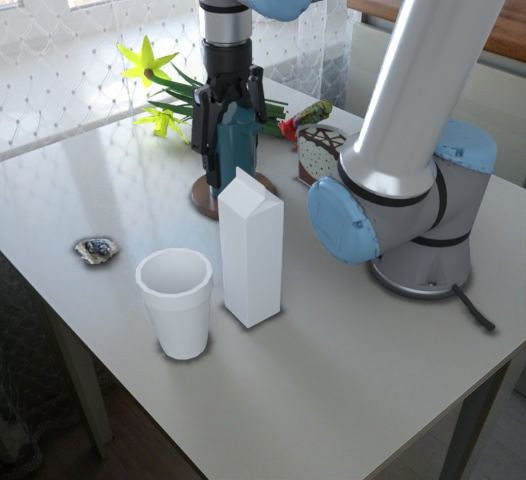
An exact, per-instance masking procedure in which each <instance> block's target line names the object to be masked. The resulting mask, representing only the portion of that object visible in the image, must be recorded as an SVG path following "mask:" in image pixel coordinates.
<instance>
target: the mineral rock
mask: <svg viewBox="0 0 526 480" xmlns="http://www.w3.org/2000/svg"><path fill="white" fill-rule="evenodd" d="M75 250H76V251H77V253H79V254H80V255H81V259H83V260H84V261H85V262H84V263H86V264H87V265H91V266H92V265H100V264H101V263H105V262H107V261H109V258H112V257H113V254H118V253H119V252H120V250H119V249H118V245H116V243H114V242H113V241H112V240H110V239H108V238H99V237H98V238H96V239H94V238H93V239H83V240H82V241H80V242H78V243H77V244H76V245H75Z"/></svg>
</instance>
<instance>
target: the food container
mask: <svg viewBox="0 0 526 480" xmlns="http://www.w3.org/2000/svg"><path fill="white" fill-rule="evenodd" d="M297 136H298V140H297V144H298V150H297V180H298V181H300V182H302V183H303V184H305V185H306V186H307V187H309V189H310V188H311V186H312V185H313V184H314V183H315V182H316V181H318V180H319V179H320V178H321V177H323V176H330V175H331V174H332V173H333V172H334V170H335V167H336V164H337V160H338V157H339V154H340V151H341V148H342V146H343V144H344V142H345V141H346V140H347V139H348V138H349V137H350V135H349V134H348V133H347V132H346V131H344V130H343V129H340V128H339V127H336V126H333V125H329V124H323V123H317V124H307V125H302V126H299V127H298V129H297V130H296V135H295V137H297Z"/></svg>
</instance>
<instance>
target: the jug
mask: <svg viewBox="0 0 526 480" xmlns="http://www.w3.org/2000/svg"><path fill="white" fill-rule="evenodd" d="M218 104H219V105H221V103H218ZM217 131H218V140H217V144H216V148H215V151H216V152H218V153H219V170H220V187H221V188H219V189H218V190H217V189H216V188H214V187H212V186H210V185H209V188H210V193H211V194H212V195H213V196H214V197H215V198H217V199H218V196H219V195H220V193H221V192H222V191H223V190H224V189H225V188H226V187H227V186H228V185H229V184H230V183H231V182H232V181H233V180H234V179H235V178H236V167H239V168H240V169H242V170H243V171H245V172H246V173H247V174H249V175H250V176H251V177H253V178H254V179H255V180H256V172H257V168H256V135H257V134H258V135H259V134H262V133H261V132H262V124H260V123H258V122H256V119H255V111H254V109H253V108H250V109H248V110H247V109H245V108H242V107H240V106H238V105H237V104H236V102H232V103H231V104H229V106H228V110H227V112H226V113H224V116H223V120H222V122H221V123H219V124H217ZM207 145H208V144H207Z"/></svg>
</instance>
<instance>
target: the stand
mask: <svg viewBox="0 0 526 480" xmlns="http://www.w3.org/2000/svg"><path fill="white" fill-rule="evenodd" d="M256 180H257V181H258V182H259V183H261V184H262V185H263V186H264V187H265V189H267V190H268V191H269V192H271V193H272V194H273V195H275V189H274V185H273V183H272V181H271V179H269V178H268V177H267V176H265V174H262V173H260V172H258V171H256ZM191 200H192V204H193V205H194V207H195V208H196V210H198V211H199V212H200V213H202V214H203V215H205V216H207V217H210V218H212V219H217V220H219V210H218V199H217V198H215V197H214V196H213V195H212V194H211V193H210V188H209V185H208V184H207V181H206V173H205V174H203V175H201V176H199V177H198V178H197V180H195V182H194V183H193V185H192V186H191Z"/></svg>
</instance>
